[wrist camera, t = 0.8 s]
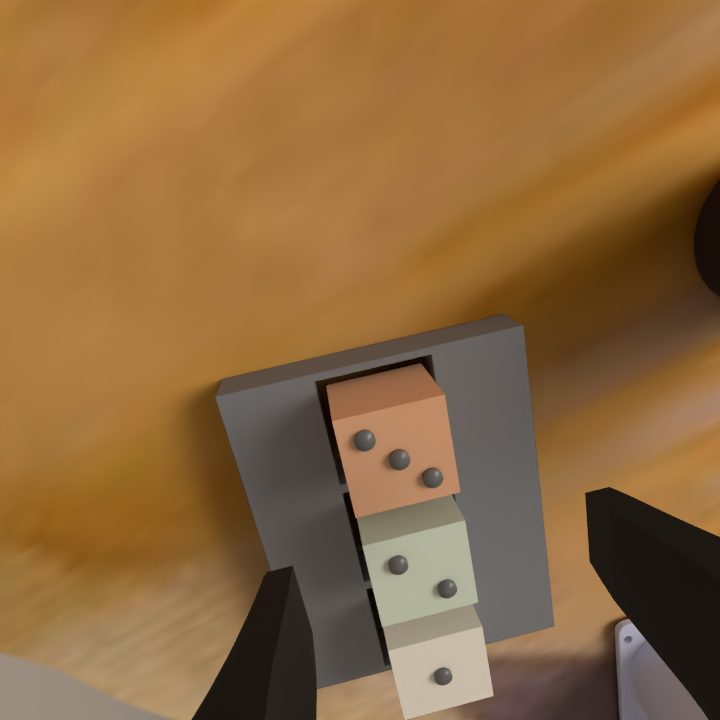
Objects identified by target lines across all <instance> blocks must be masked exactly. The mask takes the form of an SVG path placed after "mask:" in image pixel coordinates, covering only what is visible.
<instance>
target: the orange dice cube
mask: <svg viewBox="0 0 720 720" xmlns="http://www.w3.org/2000/svg"><path fill="white" fill-rule="evenodd" d="M326 387H327V393H328V399H329V406H330V412H331V418H332V423H333V428H334V432H335V436H336V440H337V444H338V448H339V452H340V456H341V460H342V464H343V469H344V473H345V477H346V481H347V485H348V489H349V493H350V497H351V501H352V505H353V510H354V514H355V518H359V517H363V516H367V515H371V514H375V513H379V512H383V511H387V510H391V509H395V508H399V507H403V506H407V505H411V504H415V503H419V502H423V501H427V500H431V499H435V498H439V497H443V496H447V495H451V494H455V493H459V492H460V486H459V479H458V473H457V467H456V461H455V455H454V449H453V442H452V436H451V430H450V424H449V418H448V411H447V405H446V399H445V394H444V393H443V392H442V390H441V389H440V388H439V386H438V385H437V384H436V382H435V381H434V380H433V378H432V377H431V376H430V374H429V373H428V372H427V371H426V369H425V368H424V367H423V365H422V364H421V363H419V364H415V365H411V366H406V367H402V368H398V369H394V370H389V371H385V372H381V373H376V374H372V375H368V376H364V377H359V378H355V379H351V380H347V381H342V382H338V383H334V384H329V385H326Z"/></svg>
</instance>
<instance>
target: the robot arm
mask: <svg viewBox="0 0 720 720" xmlns="http://www.w3.org/2000/svg"><path fill="white" fill-rule="evenodd" d="M585 496H586V511H587V527H588V542H589V557H590V563H591V564H592V566H593V568H594V569H595V571H596V572H597V574H598V576H599V577H600V579H601V581H602V582H603V584H604V585H605V587H606V588H607V590H608V592H609V593H610V595H611V596H612V598H613V599H614V601H615V602H616V603H617V604H618V606H619V607H620V608H621V610H622V611H623V612H624V613H625V615H626V616H627V617H628V618H629V619H626V620H623V621H620V622H619V623H618V624H617V625H616V626H615V644H616V663H617V682H618V700H619V719H620V720H720V537H719V536H716V535H714V534H711V533H709V532H707V531H705V530H702V529H700V528H698V527H695V526H693V525H691V524H689V523H687V522H684V521H682V520H680V519H678V518H676V517H674V516H671V515H669V514H667V513H665V512H663V511H661V510H659V509H656V508H654V507H652V506H650V505H648V504H646V503H644V502H642V501H639V500H637V499H635V498H633V497H631V496H629V495H627V494H624V493H622V492H620V491H618V490H615V489H613V488H610V487H608V488H603V489H599V490H595V491H591V492H587V493H585ZM316 700H317V675H316V663H315V652H314V641H313V632H312V628H311V625H310V622H309V618H308V615H307V612H306V608H305V605H304V601H303V598H302V595H301V591H300V588H299V585H298V581H297V578H296V574H295V571H294V568H293V566H289V567H285V568H281V569H277V570H273V571H269V572H267V573H266V575H265V576H264V578H263V581H262V583H261V586H260V588H259V590H258V593H257V595H256V598H255V600H254V602H253V605H252V607H251V609H250V611H249V614H248V616H247V618H246V620H245V623H244V625H243V627H242V629H241V631H240V633H239V635H238V637H237V639H236V641H235V643H234V645H233V647H232V649H231V651H230V653H229V655H228V657H227V659H226V661H225V663H224V665H223V666H222V668H221V670H220V672H219V674H218V675H217V677H216V679H215V681H214V683H213V685H212V686H211V688H210V690H209V692H208V693H207V695H206V697H205V698H204V700H203V702H202V704H201V705H200V707H199V708H198V710H197V712H196V713H195V715H194V717H193V718H192V720H316Z"/></svg>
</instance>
